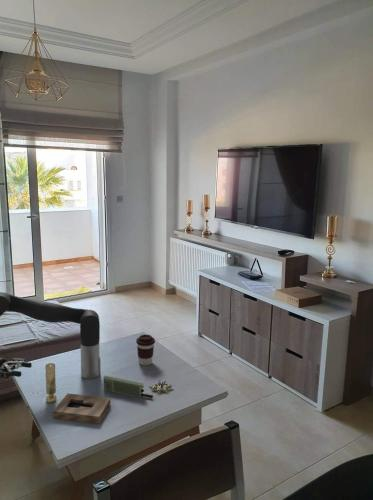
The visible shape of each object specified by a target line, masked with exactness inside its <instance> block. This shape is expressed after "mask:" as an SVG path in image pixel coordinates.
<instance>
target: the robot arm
mask: <svg viewBox="0 0 373 500" xmlns="http://www.w3.org/2000/svg"><path fill="white" fill-rule="evenodd" d="M5 312H10V313H11V312H12V313H18V314H22V315H24V316H26V317H28V318H30V319H32V320H36V321H41V322H46V323H65V322H66V323H67V322H68V323H74V324H79V328H80V332H79V333H80V334H79V335H80V338H79V339H80V376H81V378H83V379H86V380H92V379H95V378H98V377H101V370H102V369H101V366H102V365H101V362H102V361H101V356H100V352H101V351H100V341H101V339H100V336H101V335H100V334H101V333H100V329H101V327H100V326H101V325H100V323H101V322H100V316H99V314H98V313H97V311H95V310H92V309H86V308H78V307H72V306H71V307H70V306H66V305H63V304H58V303H57V304H56V303H54V302H49V301H44V300H38V299H29V298H24V297H21V296H17V295H13V294H10V293H8V292H7V293H6V292H2V291H1V292H0V317H2V316H3V314H5ZM32 364H33V363H32V362H28V361H26V359H25V358H19V357H18V358H17V357H12V358H11V361H9V360H8V361H7V359H6V358H4V357H0V379H9V378H12V377H21V376H22V371H20V370H18V369H19V368H27V369H31V368H32Z"/></svg>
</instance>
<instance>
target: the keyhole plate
mask: <svg viewBox="0 0 373 500" xmlns="http://www.w3.org/2000/svg"><path fill="white" fill-rule="evenodd" d="M70 403H73V404H82V406H79V407H71V406H69V405H70ZM83 405H85V406H83ZM89 406H90V407H89ZM91 406H92V407H91ZM110 407H111V397H104V396H95V395H85V394H78V393H66V394H65V396H64V397H63V398H62V400H60V401H59V403H58V404H57V405H56V407H55V408H54V409H53V410H52V418H53V419H55V420H63V421H73V422H79V423H88V424H89V423H91V424H95V425H96V424H97V425H98V424H99V425H100V423H101V422H102V420H103V418H104V417H105V415H106V413H107V412H108V409H109V408H110Z"/></svg>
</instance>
